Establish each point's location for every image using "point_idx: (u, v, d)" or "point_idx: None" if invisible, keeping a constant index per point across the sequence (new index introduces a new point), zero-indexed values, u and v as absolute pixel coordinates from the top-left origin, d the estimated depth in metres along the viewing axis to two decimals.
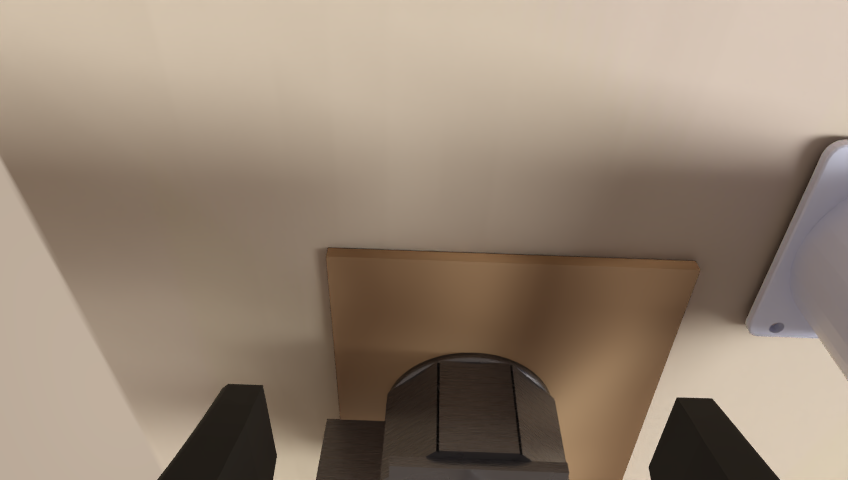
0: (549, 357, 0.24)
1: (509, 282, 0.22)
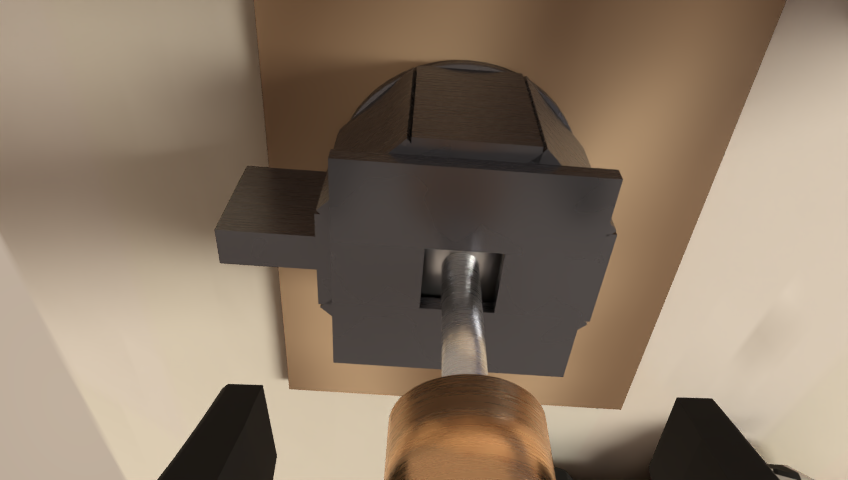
0: (581, 72, 0.16)
1: None
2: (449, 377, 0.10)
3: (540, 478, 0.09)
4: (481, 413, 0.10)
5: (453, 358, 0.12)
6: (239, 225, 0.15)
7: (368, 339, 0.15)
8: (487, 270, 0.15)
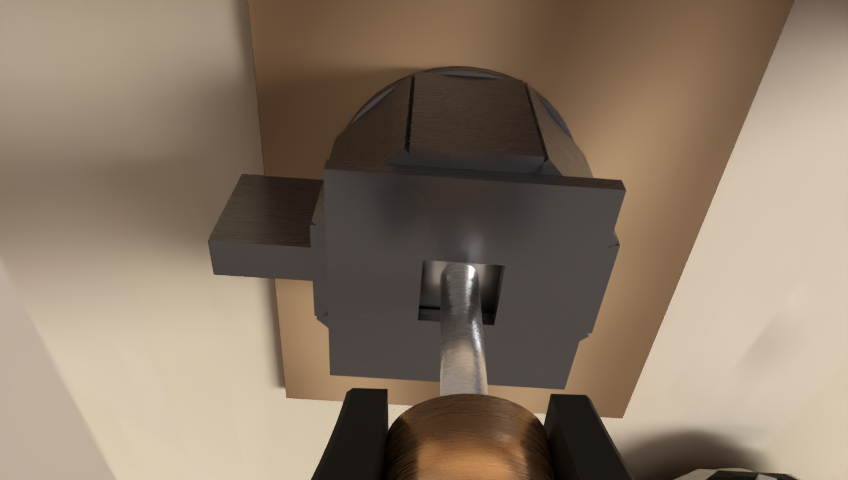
0: (582, 79, 0.16)
1: None
2: (448, 396, 0.10)
3: None
4: (481, 435, 0.09)
5: (452, 375, 0.11)
6: (234, 236, 0.14)
7: (366, 352, 0.15)
8: (487, 281, 0.14)
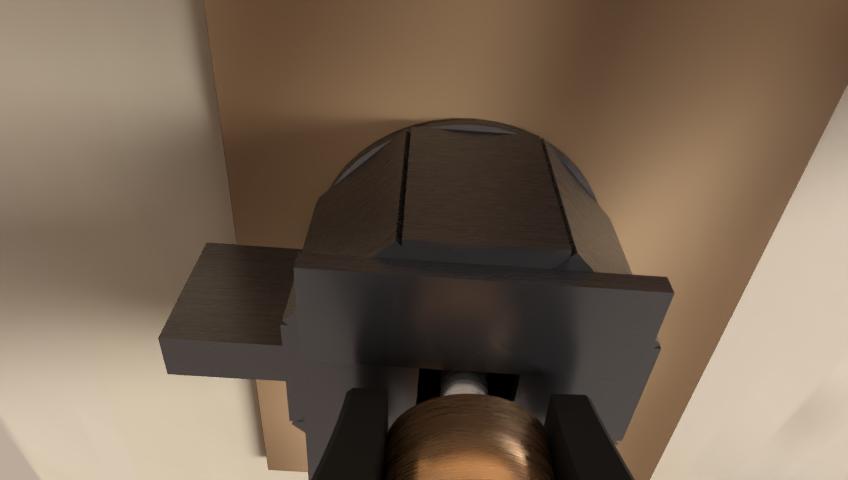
0: (609, 133, 0.13)
1: None
2: (448, 396, 0.10)
3: None
4: (481, 435, 0.09)
5: (452, 375, 0.11)
6: (190, 330, 0.12)
7: None
8: None
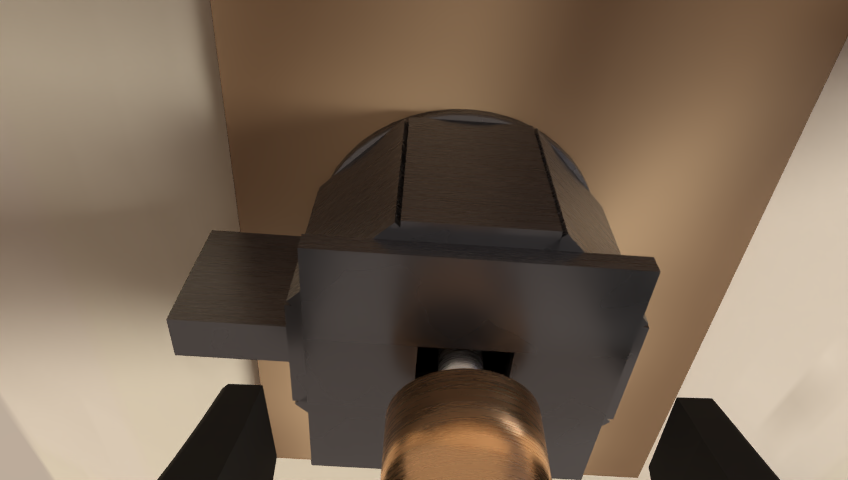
0: (600, 123, 0.14)
1: None
2: (445, 371, 0.10)
3: (535, 470, 0.09)
4: (476, 406, 0.10)
5: (450, 354, 0.12)
6: (197, 312, 0.12)
7: (352, 441, 0.13)
8: None
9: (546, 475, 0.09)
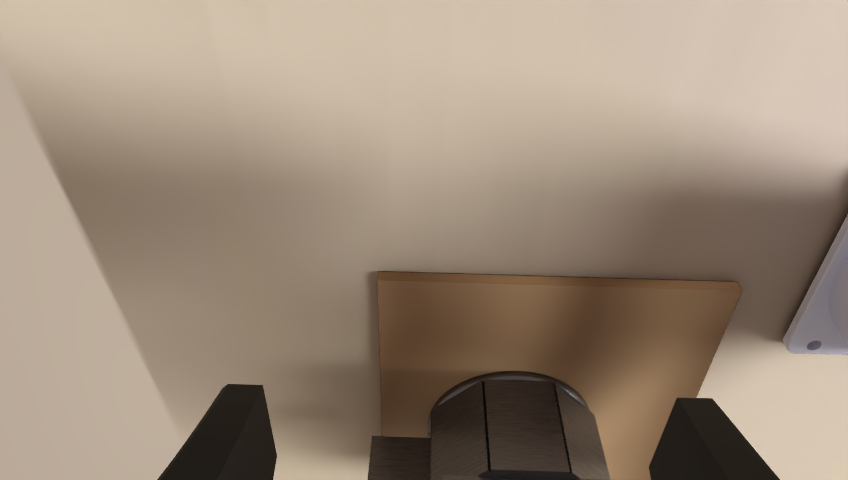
0: (590, 374, 0.25)
1: (555, 304, 0.22)
2: None
3: None
4: None
5: None
6: None
7: None
8: None
9: None
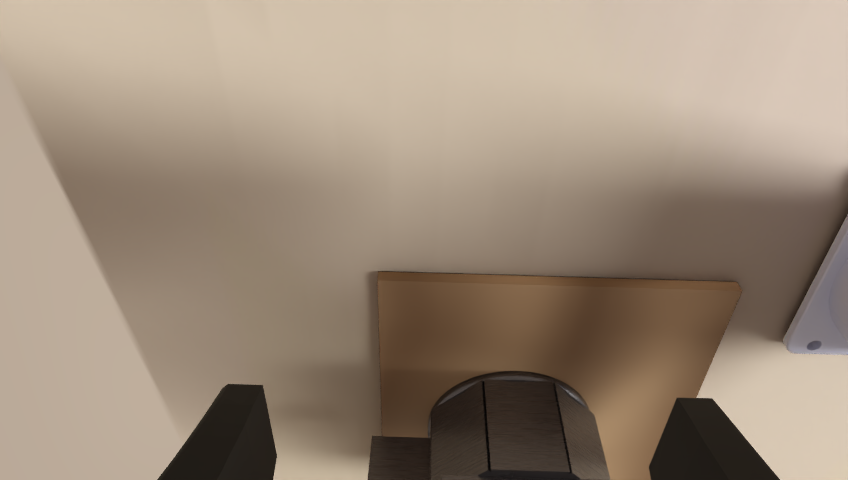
0: (590, 374, 0.25)
1: (555, 304, 0.22)
2: None
3: None
4: None
5: None
6: None
7: None
8: None
9: None
